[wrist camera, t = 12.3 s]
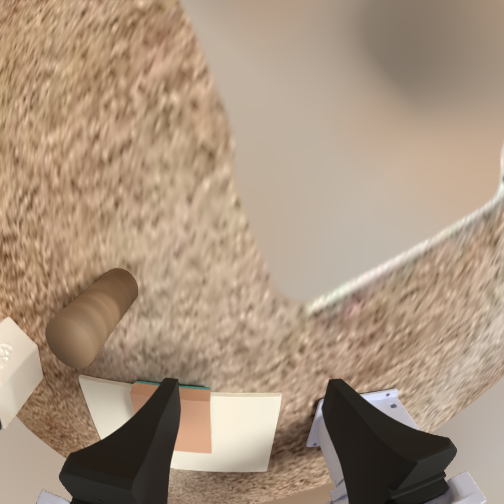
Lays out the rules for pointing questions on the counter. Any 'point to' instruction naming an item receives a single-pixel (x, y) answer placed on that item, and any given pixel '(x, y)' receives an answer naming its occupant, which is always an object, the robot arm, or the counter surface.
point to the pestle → (91, 318)
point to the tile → (184, 415)
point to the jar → (16, 370)
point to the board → (222, 419)
